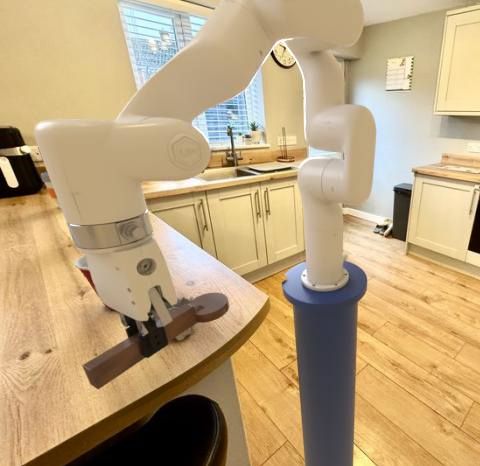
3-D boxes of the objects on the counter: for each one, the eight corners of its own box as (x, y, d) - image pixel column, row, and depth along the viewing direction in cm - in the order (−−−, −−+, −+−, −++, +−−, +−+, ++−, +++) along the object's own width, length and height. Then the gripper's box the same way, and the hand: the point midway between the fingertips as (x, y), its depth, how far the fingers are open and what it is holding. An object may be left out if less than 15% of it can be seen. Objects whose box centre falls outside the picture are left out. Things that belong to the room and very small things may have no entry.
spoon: (108, 397, 34) (100, 377, 33) (80, 377, 37) (71, 358, 36) (237, 305, 51) (234, 290, 50) (211, 296, 54) (208, 281, 53)
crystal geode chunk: (190, 340, 55) (185, 323, 53) (144, 348, 53) (138, 330, 51) (199, 306, 64) (196, 290, 63) (161, 312, 62) (156, 296, 60)
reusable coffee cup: (48, 211, 121) (33, 176, 115) (60, 203, 131) (47, 170, 126) (85, 208, 126) (73, 174, 120) (95, 200, 136) (84, 168, 130)
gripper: (187, 230, 34) (211, 348, 41) (111, 211, 41) (144, 316, 48) (117, 255, 28) (160, 390, 35) (40, 227, 34) (90, 346, 41)
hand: (150, 347), depth 41 cm, fingers closed on spoon
